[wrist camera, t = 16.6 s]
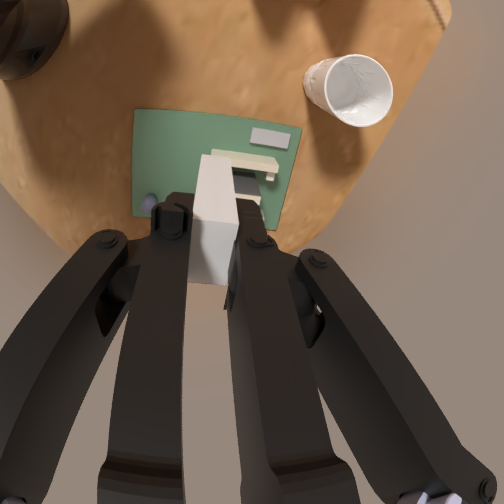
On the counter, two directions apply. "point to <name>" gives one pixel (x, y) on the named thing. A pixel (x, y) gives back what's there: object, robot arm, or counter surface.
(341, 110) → the white cup
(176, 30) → the counter surface
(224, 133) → the board
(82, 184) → the counter surface
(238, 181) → the plug
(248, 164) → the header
